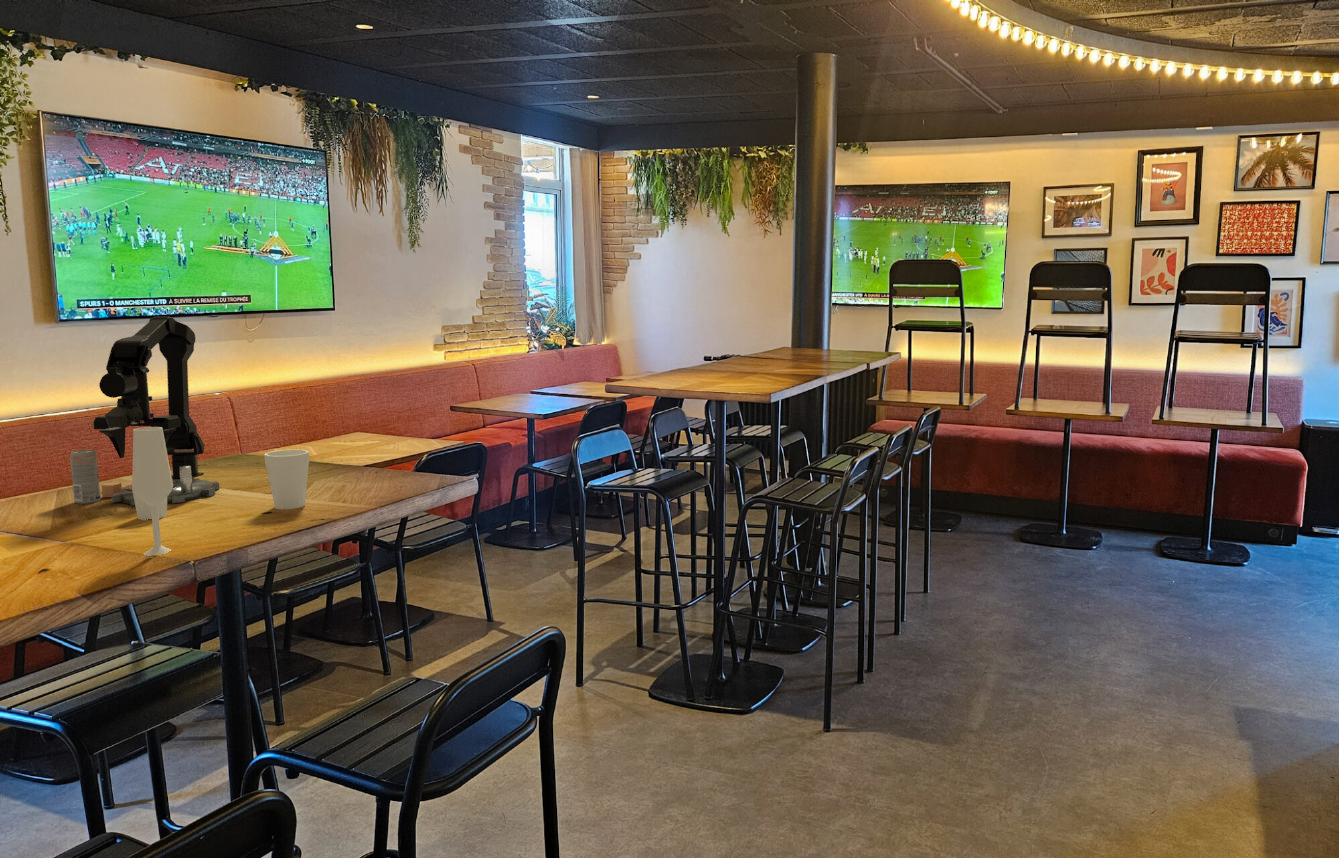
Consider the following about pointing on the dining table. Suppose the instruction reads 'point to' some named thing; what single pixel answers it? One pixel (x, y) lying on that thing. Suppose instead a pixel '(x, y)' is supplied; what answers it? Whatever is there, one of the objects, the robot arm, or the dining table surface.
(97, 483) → the energy drink
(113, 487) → the peach wooden cube
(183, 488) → the sprocket
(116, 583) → the dining table surface
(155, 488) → the champagne flute
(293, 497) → the foam cup
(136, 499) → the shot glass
